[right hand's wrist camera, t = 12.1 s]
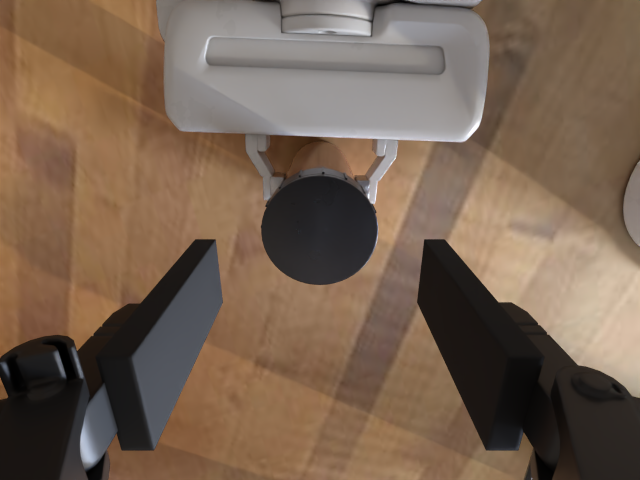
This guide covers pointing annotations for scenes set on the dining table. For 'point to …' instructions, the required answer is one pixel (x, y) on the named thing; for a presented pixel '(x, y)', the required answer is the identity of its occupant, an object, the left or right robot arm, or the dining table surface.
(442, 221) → the dining table surface
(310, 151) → the jar
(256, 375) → the dining table surface
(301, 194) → the lid
